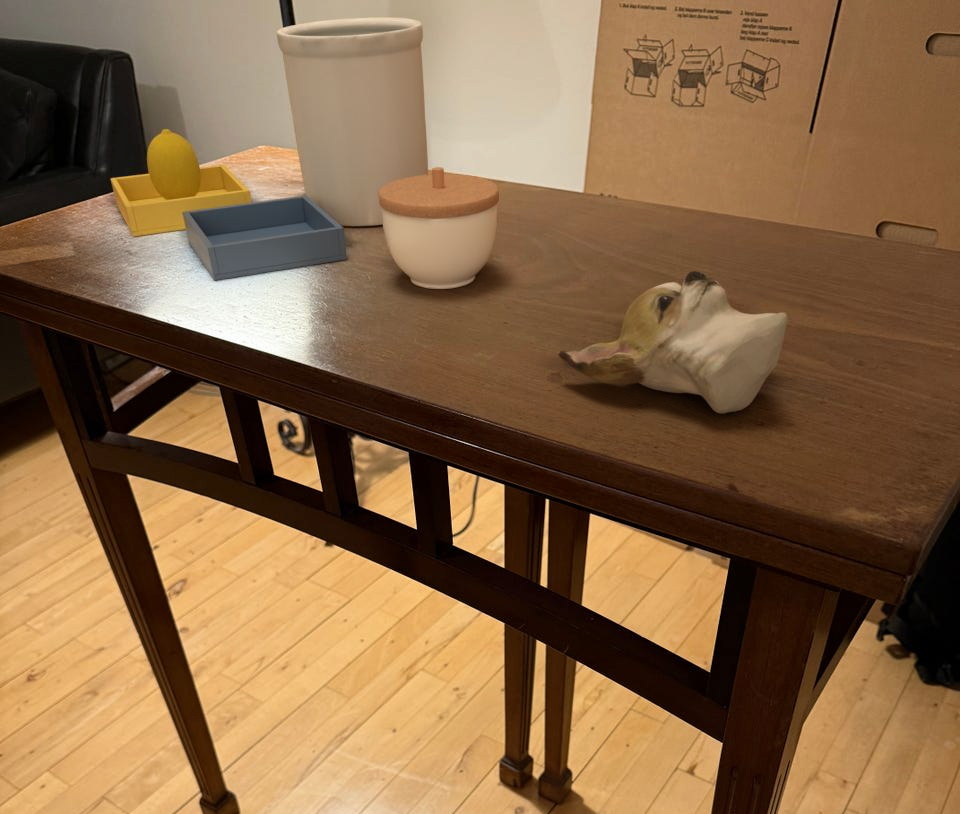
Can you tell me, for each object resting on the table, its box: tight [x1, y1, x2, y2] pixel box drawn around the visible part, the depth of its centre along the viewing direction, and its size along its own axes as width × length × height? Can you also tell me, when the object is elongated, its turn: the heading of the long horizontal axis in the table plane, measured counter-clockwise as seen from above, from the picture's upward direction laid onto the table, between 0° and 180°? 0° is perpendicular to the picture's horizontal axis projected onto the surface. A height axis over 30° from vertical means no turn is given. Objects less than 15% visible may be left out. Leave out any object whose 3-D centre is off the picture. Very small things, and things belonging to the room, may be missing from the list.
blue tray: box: [182, 194, 348, 281], centre depth 92 cm, size 13×13×3 cm
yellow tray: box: [110, 164, 253, 237], centre depth 103 cm, size 13×13×3 cm
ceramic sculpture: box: [557, 270, 789, 415], centre depth 64 cm, size 11×9×15 cm
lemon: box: [146, 128, 201, 200], centre depth 101 cm, size 6×6×8 cm
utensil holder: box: [276, 17, 429, 227], centre depth 98 cm, size 15×15×18 cm
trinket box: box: [378, 166, 500, 290], centre depth 82 cm, size 11×11×9 cm
